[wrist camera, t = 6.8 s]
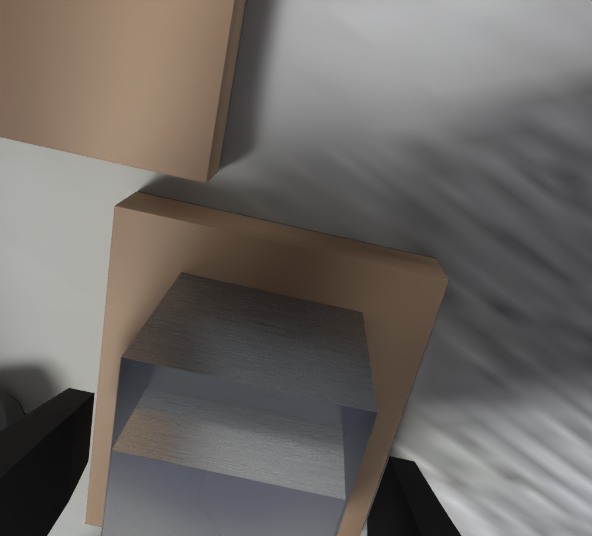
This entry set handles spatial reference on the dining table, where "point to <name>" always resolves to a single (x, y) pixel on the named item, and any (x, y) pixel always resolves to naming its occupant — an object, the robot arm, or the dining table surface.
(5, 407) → the loose bolt
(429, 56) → the dining table surface
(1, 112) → the stand
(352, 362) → the block
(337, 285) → the stand
